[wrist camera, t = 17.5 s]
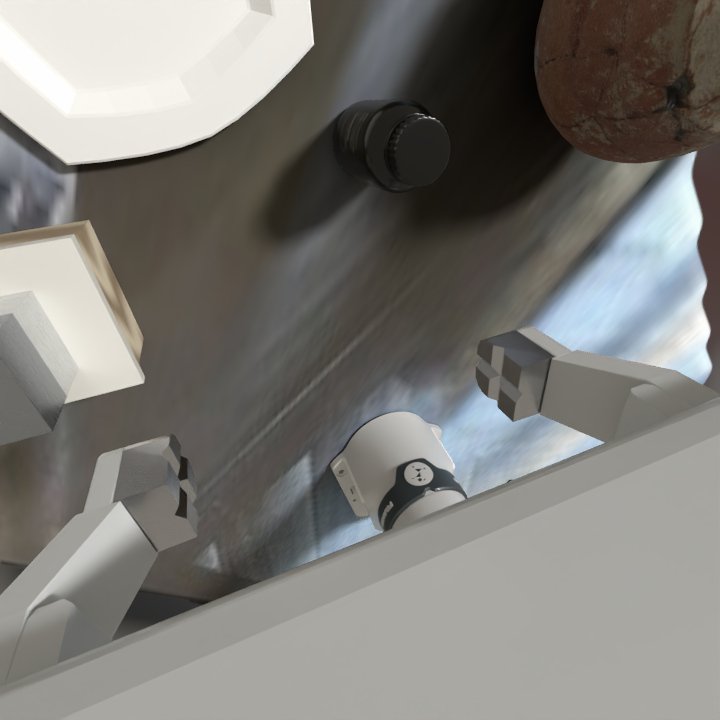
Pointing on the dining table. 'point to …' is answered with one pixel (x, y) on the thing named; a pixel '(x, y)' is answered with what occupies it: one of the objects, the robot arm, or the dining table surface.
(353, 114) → the supplement bottle
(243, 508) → the dining table surface
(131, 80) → the plate
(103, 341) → the stand
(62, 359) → the block
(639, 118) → the jug
